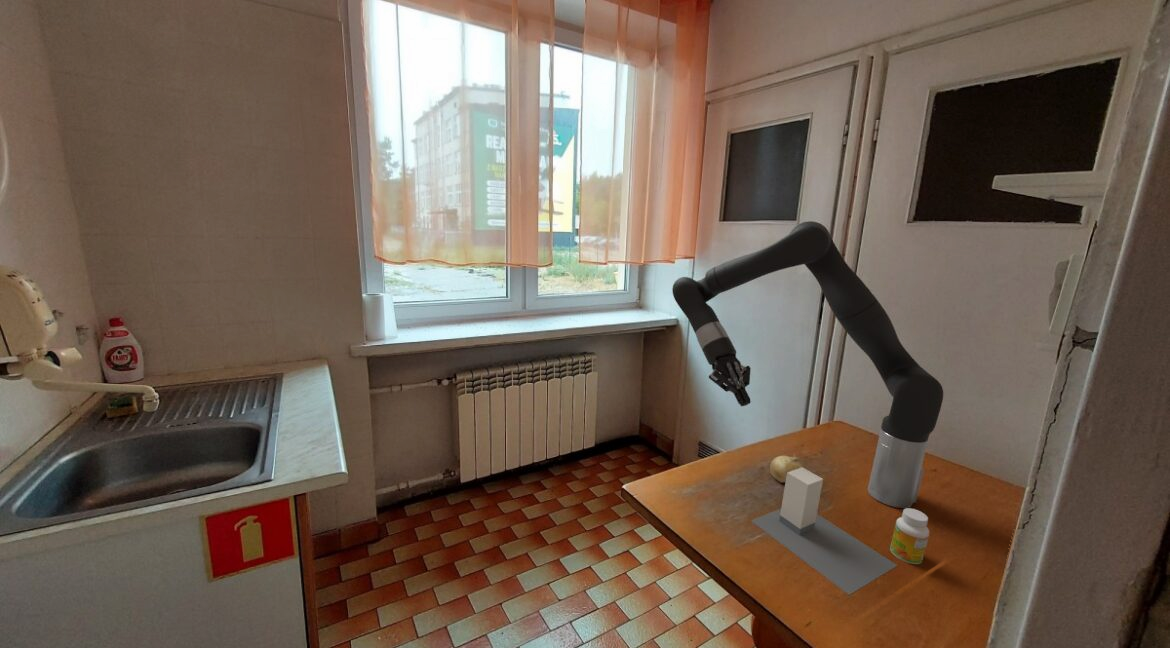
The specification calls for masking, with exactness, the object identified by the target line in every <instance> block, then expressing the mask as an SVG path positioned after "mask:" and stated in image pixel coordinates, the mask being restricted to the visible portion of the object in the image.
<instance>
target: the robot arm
mask: <svg viewBox="0 0 1170 648" xmlns="http://www.w3.org/2000/svg"><path fill="white" fill-rule="evenodd" d="M802 265H805V266H806V268H807V270H809V271H810V273H811V274H812V275H813V277H814V278H815V279H816V281H817V283H818V284H819V287H820V288H821V291H822V293H823V296H824V297H825V299H826V302H827V305H828V306H829V307H830V309H831V312H832V313H833V315H834V317H835V318H836V319H837V321H838V322H839V323H840V325H841V326H842V328H843V329H844V330H845V332H846V333H847V334H848V335H849V337H850V339H852V340H853V342H854V343H855V344H856V345H857V346H858V347H859V348H860V349H861V350H862V352H863V353H865V355H867V357H868V358H869V359H870V360H871V362H872V363H873V365H874V367H875V369H876V370H877V372H878V373H879V375H880V378H881V379H882V381H883V383H884V385H885V387H886V389H887V391H888V392H889V395H891V397H892V398H893V399H892V403H891V407H890V411H889V414H888V415H886V416H884V417H883V418H882V422H881V425H880V432H879V436H878V440H877V445H876V450H875V454H874V460H873V463H872V467H871V468H872V469H871V471H870V472H871V473H870V477H869V483H868V486H867V492H868V494H869V495H870V496H871V497H872V498H873V499H875V500H876V501H878V502H880V503H882V504H884V505H887V506H890V507H893V508H898V509H906V508H911V507H912V505H913V504H916V503H917V499H918V495H919V491H920V487H921V484H922V480H923V479H922V478H923V474H924V471H925V467H923V462H924V458H925V454H926V450H927V449H926V448H927V444H928V441H929V437H930V434H931V433H933V432H934V430H935V429H936V425H937V421H938V419H939V415H940V412H941V408H942V404H943V400H944V390H943V385H942V384H941V382H939V380H938V379H937V378H935V377H934V376H933V375H931V374H930V373H929V372H928V371H926V370H925V369H924V368H923V367H921V365H920V364H918V362H917V361H916V360H915V359H914V358H913V357H912V355H910V353H909V352H908V351H907V350H906V348H905V347H904V345H902V343H901V341H900V339H899V337H898V334H897V332H896V329H895V327H894V325H893V323H892V320H891V318H890V316H889V315H888V313H887V312H886V310H885V309H884V307H883V306H882V304H881V303H880V301H878V299H877V296H875V295H874V294H873V293H872V292H871V289H869V287H868V286H867V285H866V284H865V282H863V280H862V278H860V277H859V276H858V275H857V273H855V271H854V270H853V269H852V268H851V267H850V266H849V265H848V263H847V262H846V261H845V259H844V258H843V256H842V254H841V252H840V251H839V249H838V248H837V246H836V243H835V242H834V240H833V238H832V237H831V234H830V231H829V230H828V229H827V227H826V226H825V225H823V224H822V223H819V222H817V221H807V220H806V221H803V222H801V223H798V224H797V225H796V226H794V227H793V229H792V230H791V231H790V232H789V234H787V235H786V236H784V237H782V238H781V239H779V240H778V241H776V242H774V243H772V244H770V245H768V246H767V247H764V248H762V249H760V250H757V251H755V252H752V253H749V254H745V255H742V256H738V257H736V258H733V259H731V260H728V261H726V262H723V263H721V264H719V265H717V266H714V267H712V268H710V269H709V270H707V271H706V273H705V277H703V278H702V279H699V280H695V279H693V278H692V277H689V276H683V277H678V278H677V279H676V280H675V281H674V283H673V285H672V288H671V290H672V292H671V293H672V296H673V299H674V301H675V302H676V304H677V306H678V307H679V308H680V310H681V311H682V312H683V314H684V316H685V317H686V318H687V319H688V322H689V323H690V326H691V328H692V330H693V332H694V334H695V337H696V341H697V342H698V345H699V347H700V349H701V351H702V352H703V355H704V357H705V358H706V362H707V363H708V364H709V366H711V369H712V372H711V373H710V374H709V375H708V380H711V381H712V382H713V383H714V384H716V385H717V386H718V387H720V388H721V389H722V390H723V391H725V392H726V393H727V392H730V393H732V394H733V395H734V397H735V399H736V402H737V403H738V405H739V406H740V407H746V406H748V405H750V404H751V402H752V401H751V397H750V396H749V394H748V391H747V390H746V388H747V387H748V386H749V385H750V380H751V366H750V365H746V366H744V364H742V363H741V361H740V360H739V359H738V358H737V350H736V347H735V346H734V344H733V342H732V340H731V338H730V336H729V335H728V333H727V331H726V329H725V328H724V326H723V325H722V324H721V321H720V320H719V318H718V315H717V314H716V312H715V310H714V309H713V308H712V307H711V306H710V305H709V304H708V302H709V301H710V300H713V298H715V297H717V296H718V295H719V294H722V293H725V292H727V291H729V290H732V289H735V288H737V287H740V286H741V285H744V284H747V283H749V282H751V281H753V280H756V279H759V278H761V277H763V276H765V275H766V276H767V275H769V274H771V273H775V272H778V271H781V270H785V269H789V268H793V267H797V266H802Z"/></svg>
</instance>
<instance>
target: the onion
mask: <svg viewBox="0 0 1170 648" xmlns="http://www.w3.org/2000/svg"><path fill="white" fill-rule="evenodd" d="M799 468H804V467H803V464H802V463H801V462H800V461H799V458H798V457H797V456H796V453H794V454H793V456H789V455H779V456H776V457H774V459H772V461H771V462H770V466H769V469H770V473H771V475H772V477H773V478H774V479H775V480H776V481H778V483H781V484H784V483H786V477H787V472H790V471H793V470H796V469H799Z"/></svg>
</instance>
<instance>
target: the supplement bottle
mask: <svg viewBox="0 0 1170 648" xmlns="http://www.w3.org/2000/svg"><path fill="white" fill-rule="evenodd" d="M928 522H929V517H928V516H927V514H925V513H923V512H922V511H920V510H918V509H916V508H911V507H909V508H903V511H902V514H901V516H900V517H898V518H897V519H896V522H895V525H894V530H893V534H892V538H891V543H890V547H889V549H890V552H891V553H892V554H893V555H894V556H895V557H896V558H897V559H900V560H901V561H902V562H906V563H908V564H914V565H920V564H921V563H922V562H923V559H924V556H925V551H926V549H927V544H928V540H929V537H930V530H929V528H928V526H927V525H928Z"/></svg>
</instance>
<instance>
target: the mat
mask: <svg viewBox="0 0 1170 648" xmlns="http://www.w3.org/2000/svg"><path fill="white" fill-rule="evenodd" d="M780 513H781V508H779V509H776V510H774V511H772V512H769V513H766V514H764V515H762V516H758V517H755V518H754V519H752V520H751V519H750V522H752V523H753V524H754V525H756V526H757V527H758V528H760V529H761V530H762V531H764V532H765V533H766V534H767V535H769V536H770V537H772V539H775V540H776V541H777V542H778V543H779V544H781V545H782V546H783V547H785V548H786V549H788V550H789V551H790V552H791V553H792V554H794V555H795V556H797V557H798V558H799V559H800V560H802V562H804V563H806V564H807V565H808V566H810V567H811V568H813V570H815V571H817V572H818V573H819V574H820V575H822V576H823V577H825V578H826V579H827V580H828V581H830V582H831V583H833V584H834V585H835V586H836V587H838V588H839V589H840V590H841V591H843V592H844V593H846V594H847V595H848V596H851V595H852V594H853V593H855V592H856V591H858V590H860V589H862V588H863V587H865V586H866V585H868V584H870V583H871V582H873V581H875V580H876V579H878V578H880V577H882V576H883V575H884V574H886V573H888V572H889V571H891V570H893V569H894V568H896V567H897V566H898V564H897V563H895V562H894V561H892V560H890V559H888V558H887V557H885V556H884V555H882V554H881V553H879V552H878V551H876V550H874V549H873V548H871V547H870V546H868V545H866V544H865V543H863V542H862V541H861V540H859V539H857V538H856V537H854V536H852V535H851V534H849V533H848V532H846V531H844V530H843V529H841V528H840V527H838V526H836V525H835V524H834V523H832V522H831V521H829V520H828V519H825V518H824V517H823V516H821V515H819V514H818V513H817V515H816V521H815V526H814V529H812V530H809V531H807V532H805V533H803V534H801V535H798V534H797V533H795V532H794V531H793V530H791V529H790V528H788V527H787V526H786V525H784V524H783V523H781V522H780V521H779V519H780Z"/></svg>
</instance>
